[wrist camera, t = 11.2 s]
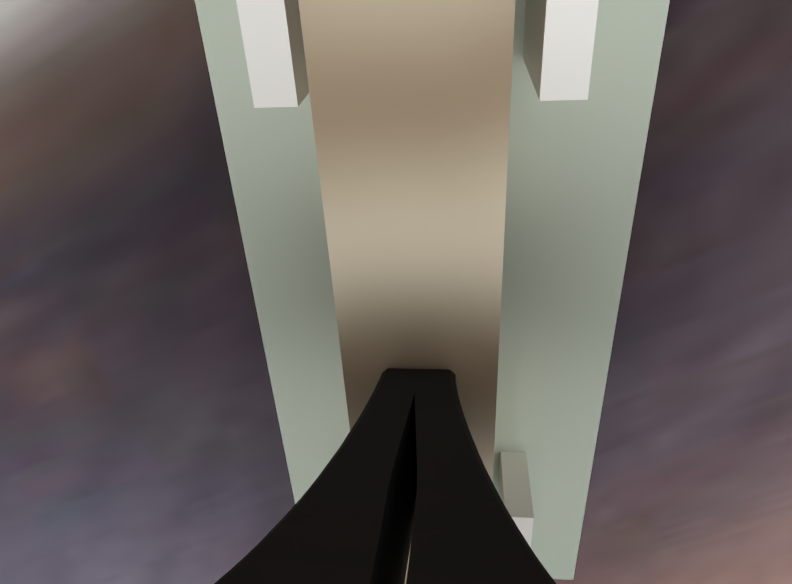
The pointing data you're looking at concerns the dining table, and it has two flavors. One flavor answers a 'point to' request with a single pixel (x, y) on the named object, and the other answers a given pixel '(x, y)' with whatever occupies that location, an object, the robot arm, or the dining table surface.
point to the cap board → (522, 258)
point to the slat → (414, 187)
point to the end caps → (549, 71)
